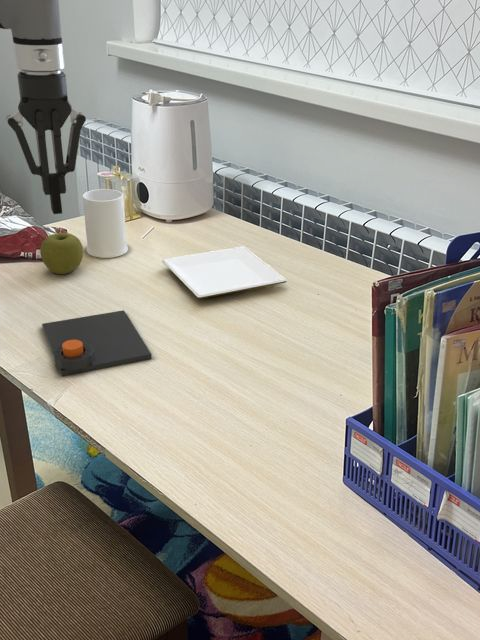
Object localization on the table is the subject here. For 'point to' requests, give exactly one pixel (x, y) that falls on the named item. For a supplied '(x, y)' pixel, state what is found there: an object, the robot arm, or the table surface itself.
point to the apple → (61, 253)
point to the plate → (223, 271)
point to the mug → (105, 223)
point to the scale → (96, 342)
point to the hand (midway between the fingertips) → (56, 211)
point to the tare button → (72, 348)
